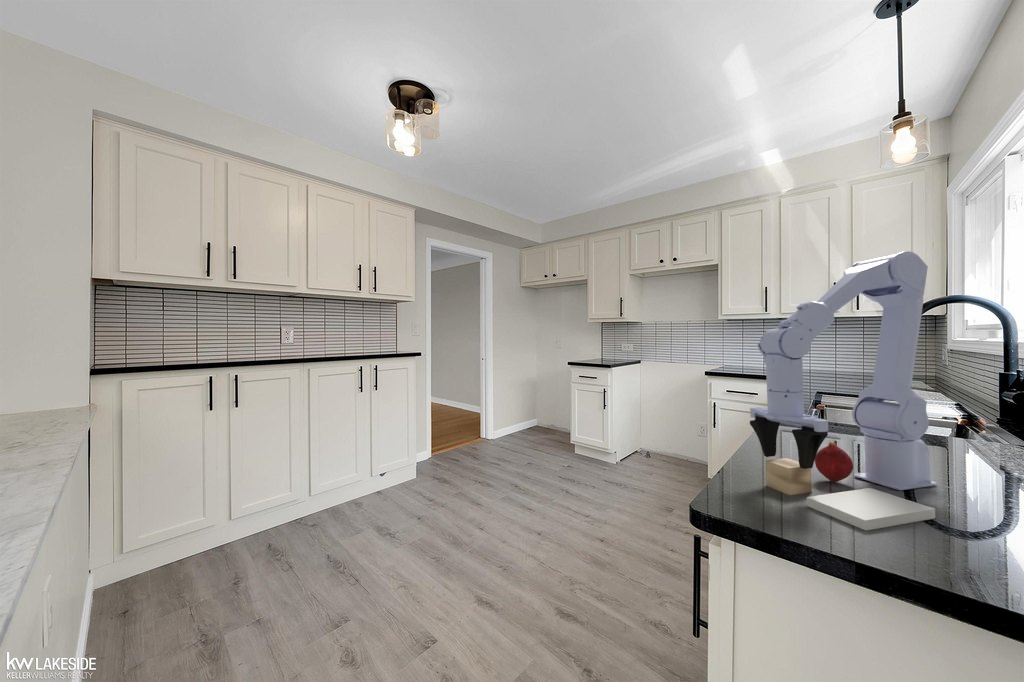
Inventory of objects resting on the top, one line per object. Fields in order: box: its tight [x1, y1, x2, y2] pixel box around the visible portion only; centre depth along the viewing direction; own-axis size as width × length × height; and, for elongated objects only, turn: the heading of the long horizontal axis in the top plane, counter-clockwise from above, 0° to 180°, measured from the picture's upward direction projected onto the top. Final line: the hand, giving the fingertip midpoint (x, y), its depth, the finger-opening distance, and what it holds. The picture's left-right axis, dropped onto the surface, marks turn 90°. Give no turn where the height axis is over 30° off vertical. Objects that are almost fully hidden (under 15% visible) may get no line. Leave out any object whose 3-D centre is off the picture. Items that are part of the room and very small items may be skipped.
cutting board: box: [806, 487, 936, 531], centre depth 63 cm, size 14×9×2 cm, turn 102°
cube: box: [765, 457, 813, 496], centre depth 73 cm, size 5×5×5 cm
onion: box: [814, 440, 854, 483], centre depth 76 cm, size 6×6×8 cm
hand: (787, 461), depth 73 cm, fingers open, 7 cm apart
